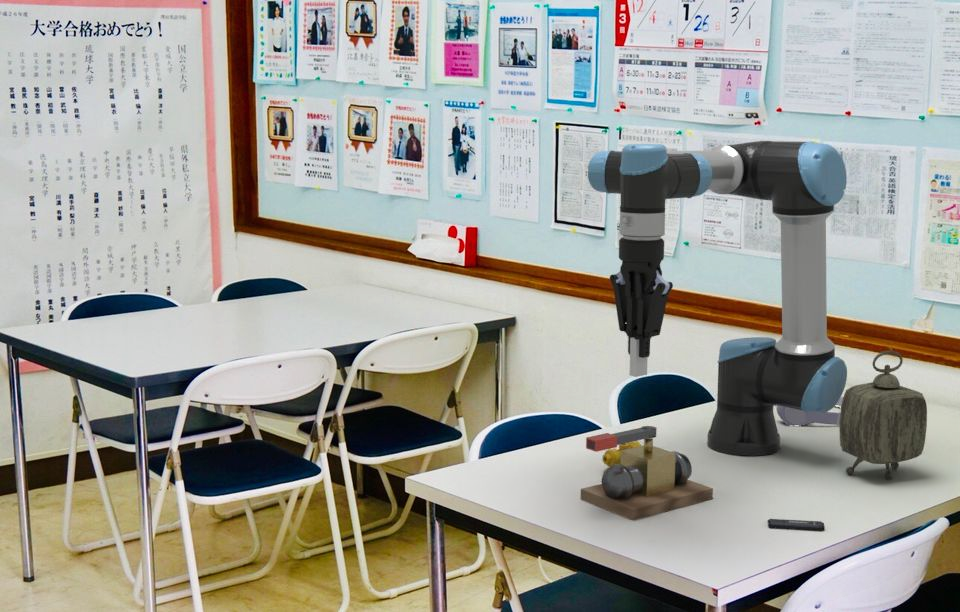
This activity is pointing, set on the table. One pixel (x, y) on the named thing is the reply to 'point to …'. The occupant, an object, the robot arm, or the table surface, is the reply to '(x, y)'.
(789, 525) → the usb stick
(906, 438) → the tabletop clock
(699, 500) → the valve plinth
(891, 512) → the table surface
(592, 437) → the valve lever
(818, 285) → the robot arm
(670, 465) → the pipe valve
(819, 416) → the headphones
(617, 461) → the pressure relief valve
